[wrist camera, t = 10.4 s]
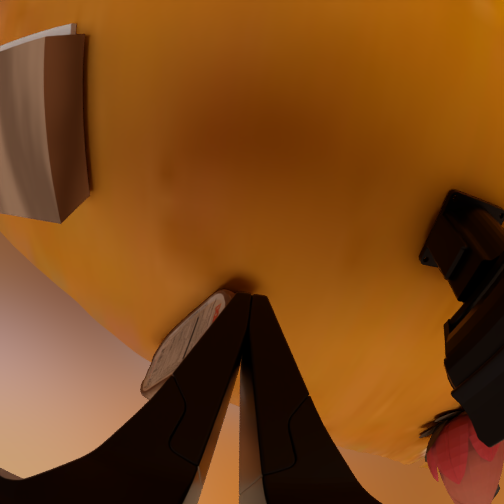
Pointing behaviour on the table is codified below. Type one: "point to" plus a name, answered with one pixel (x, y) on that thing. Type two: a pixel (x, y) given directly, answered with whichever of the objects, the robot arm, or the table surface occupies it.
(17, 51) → the walnut board
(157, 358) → the tin
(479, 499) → the decorative flower
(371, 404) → the table surface
